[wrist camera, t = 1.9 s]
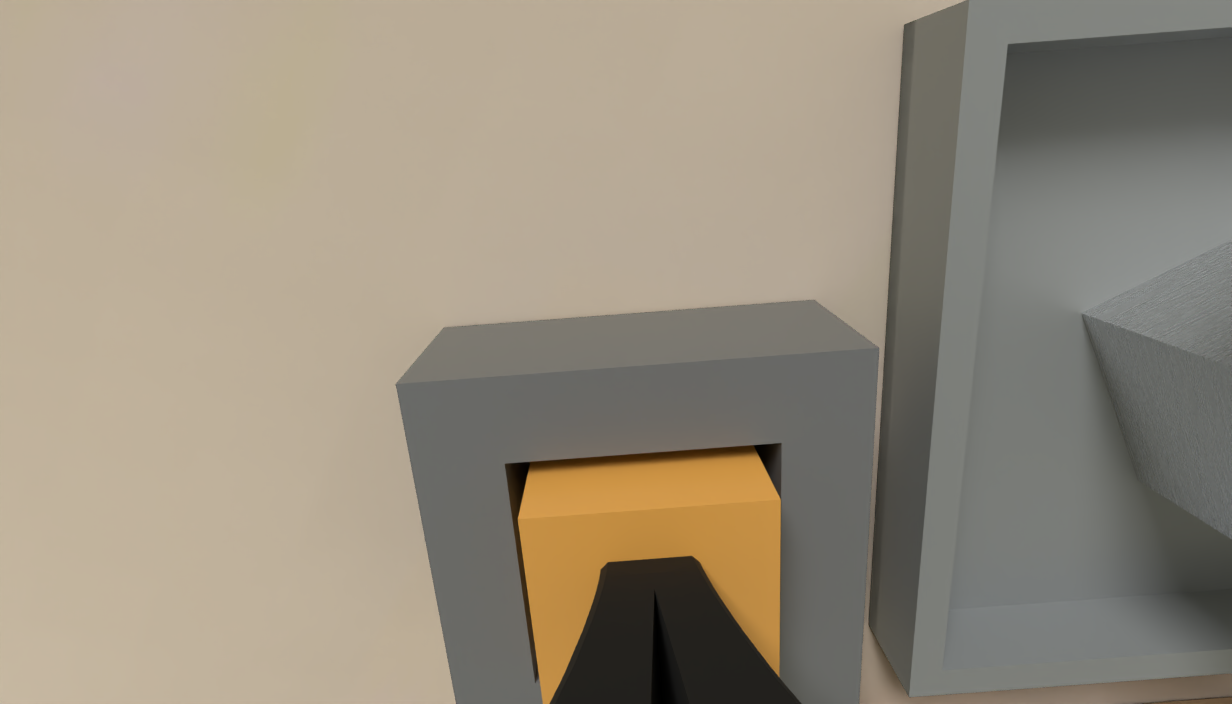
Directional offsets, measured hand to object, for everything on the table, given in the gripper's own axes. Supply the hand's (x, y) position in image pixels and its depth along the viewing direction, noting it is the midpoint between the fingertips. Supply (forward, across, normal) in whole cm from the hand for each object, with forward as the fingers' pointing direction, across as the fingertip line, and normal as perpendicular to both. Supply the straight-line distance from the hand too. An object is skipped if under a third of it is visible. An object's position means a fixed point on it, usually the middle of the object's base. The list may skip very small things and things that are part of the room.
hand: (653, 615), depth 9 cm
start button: (+3, 0, 0) cm, 3 cm away
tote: (+4, -11, -2) cm, 12 cm away
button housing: (+4, 0, 0) cm, 4 cm away
